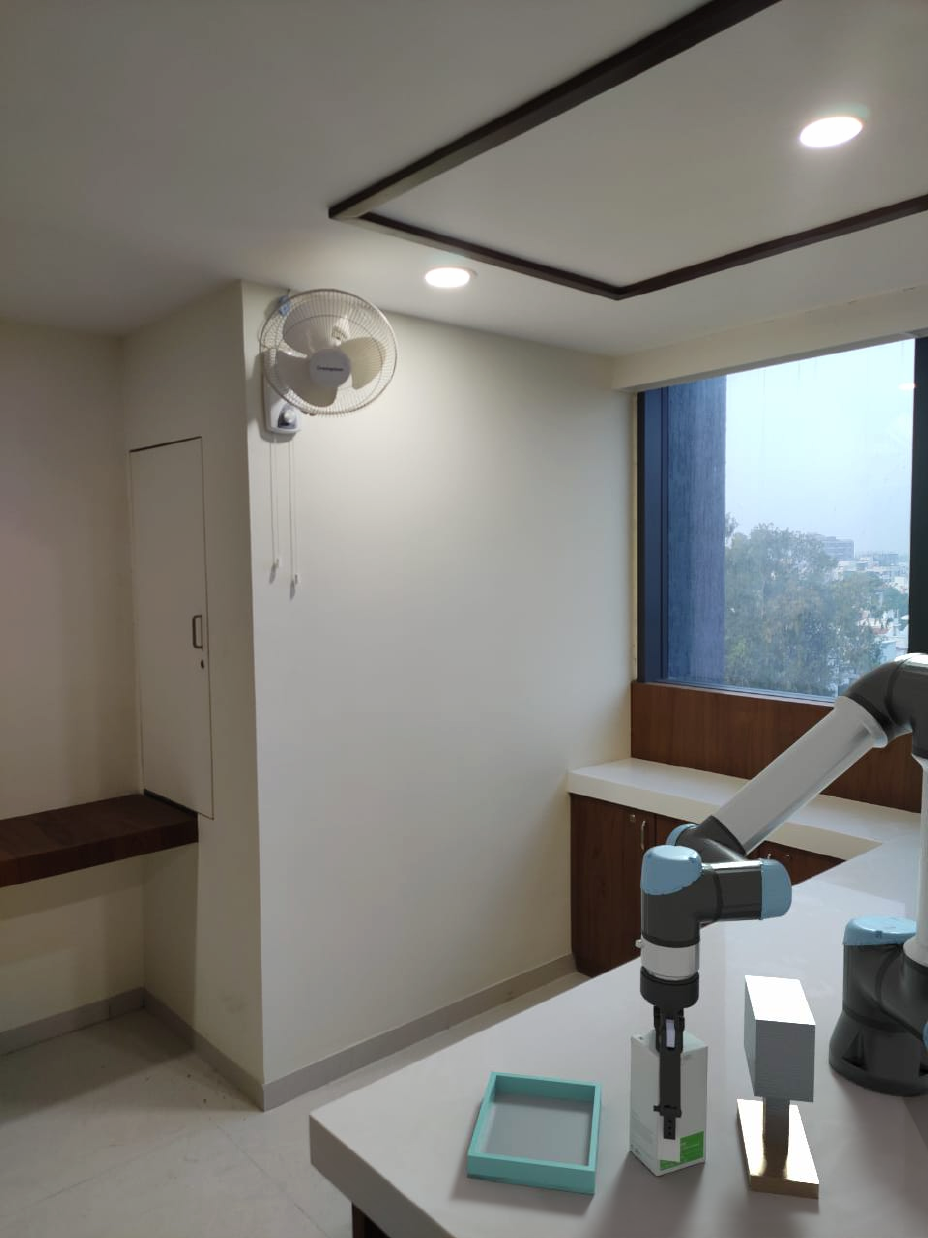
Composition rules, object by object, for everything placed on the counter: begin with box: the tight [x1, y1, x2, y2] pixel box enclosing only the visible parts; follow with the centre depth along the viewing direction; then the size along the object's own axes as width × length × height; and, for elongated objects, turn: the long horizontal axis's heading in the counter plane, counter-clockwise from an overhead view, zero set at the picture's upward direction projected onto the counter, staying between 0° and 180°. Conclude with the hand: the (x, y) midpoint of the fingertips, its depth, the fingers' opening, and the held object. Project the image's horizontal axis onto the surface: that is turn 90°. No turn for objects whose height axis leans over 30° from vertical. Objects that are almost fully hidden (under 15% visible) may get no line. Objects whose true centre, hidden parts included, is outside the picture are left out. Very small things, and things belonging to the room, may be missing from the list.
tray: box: [466, 1071, 602, 1195], centre depth 122 cm, size 16×19×3 cm
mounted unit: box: [736, 975, 820, 1200], centre depth 118 cm, size 8×16×21 cm, turn 169°
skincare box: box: [628, 1028, 709, 1177], centre depth 118 cm, size 8×7×16 cm
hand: (667, 1127), depth 118 cm, fingers open, 12 cm apart
